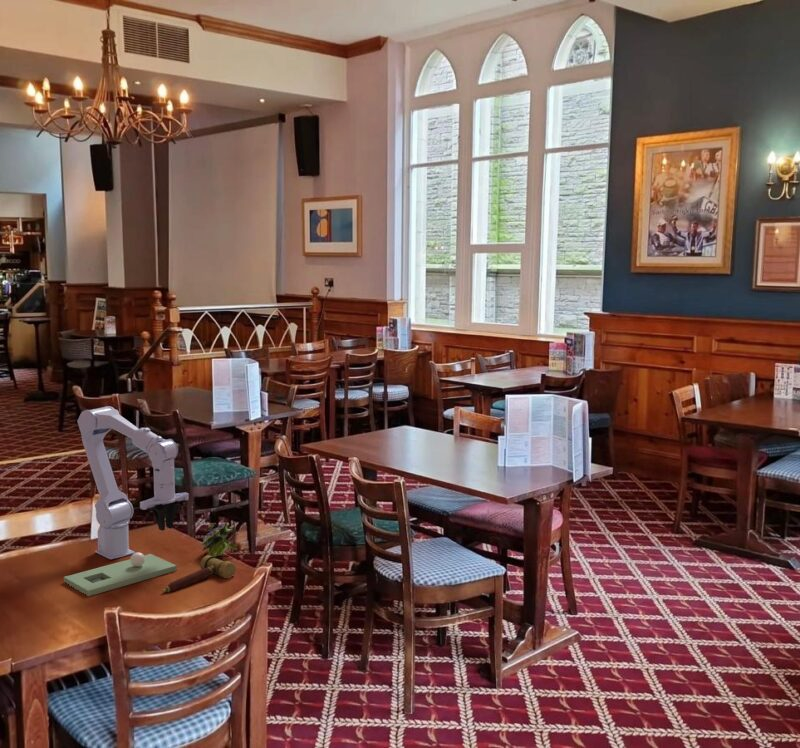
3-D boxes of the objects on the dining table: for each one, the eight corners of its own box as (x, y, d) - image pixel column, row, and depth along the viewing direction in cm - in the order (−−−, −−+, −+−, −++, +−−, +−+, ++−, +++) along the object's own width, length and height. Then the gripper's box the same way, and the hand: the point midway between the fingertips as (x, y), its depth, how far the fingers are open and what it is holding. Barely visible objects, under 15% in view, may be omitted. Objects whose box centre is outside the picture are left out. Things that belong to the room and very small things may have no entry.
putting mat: (64, 582, 223) (63, 576, 223) (150, 558, 242) (150, 553, 242) (88, 596, 214) (88, 590, 213) (176, 570, 232) (176, 565, 232)
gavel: (174, 587, 212) (150, 578, 218) (175, 604, 213) (151, 594, 219) (235, 560, 229) (212, 552, 235) (236, 576, 230) (213, 567, 236)
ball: (127, 566, 231) (127, 552, 231) (140, 563, 234) (140, 549, 234) (134, 570, 228) (134, 556, 228) (148, 566, 231) (147, 552, 231)
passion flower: (211, 568, 249) (215, 530, 255) (244, 565, 247) (247, 526, 252) (192, 558, 240) (197, 519, 246) (226, 554, 237) (230, 515, 243)
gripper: (148, 489, 227) (150, 537, 229) (194, 480, 238) (195, 526, 239) (135, 485, 232) (137, 532, 233) (180, 476, 242) (181, 521, 244)
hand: (165, 528), depth 237 cm, fingers closed
